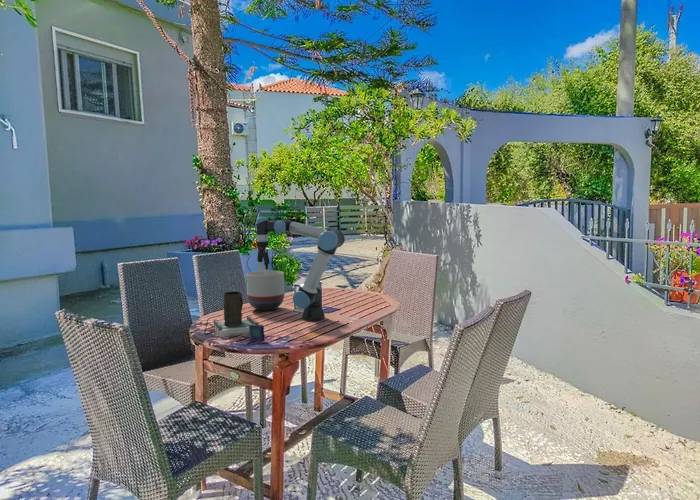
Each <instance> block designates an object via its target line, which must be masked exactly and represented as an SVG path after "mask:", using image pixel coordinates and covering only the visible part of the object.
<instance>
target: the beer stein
mask: <svg viewBox="0 0 700 500" xmlns="http://www.w3.org/2000/svg"><path fill="white" fill-rule="evenodd" d="M243 304H244V300H243V295H242V292H241V291H226V292H224V294H223V318H224V319H223V320H224V322H225V323H224V325H225V326H229V327H232V326H239V325H241V324H242V320H243V317H242V316H243V313H242V310H243Z"/></svg>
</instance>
